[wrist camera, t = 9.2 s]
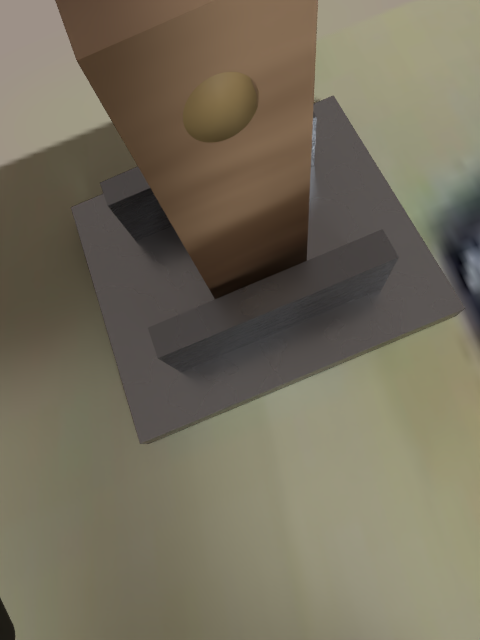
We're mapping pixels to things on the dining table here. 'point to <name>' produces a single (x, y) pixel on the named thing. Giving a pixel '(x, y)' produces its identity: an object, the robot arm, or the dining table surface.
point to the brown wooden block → (212, 119)
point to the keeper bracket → (258, 290)
